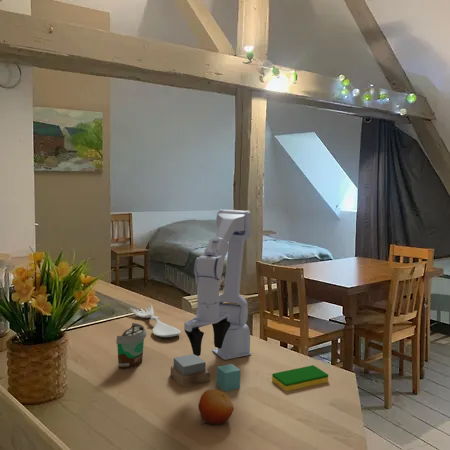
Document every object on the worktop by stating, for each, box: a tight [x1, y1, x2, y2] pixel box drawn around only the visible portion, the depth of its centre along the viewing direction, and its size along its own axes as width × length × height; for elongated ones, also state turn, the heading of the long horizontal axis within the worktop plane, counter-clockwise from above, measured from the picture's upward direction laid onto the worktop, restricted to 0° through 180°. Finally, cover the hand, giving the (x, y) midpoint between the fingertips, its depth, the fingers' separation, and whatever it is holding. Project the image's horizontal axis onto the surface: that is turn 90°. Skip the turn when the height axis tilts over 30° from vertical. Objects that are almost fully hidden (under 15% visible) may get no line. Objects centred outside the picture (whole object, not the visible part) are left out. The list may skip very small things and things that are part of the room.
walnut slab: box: [170, 365, 211, 388], centre depth 140 cm, size 8×8×3 cm
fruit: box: [198, 389, 235, 426], centre depth 118 cm, size 8×8×8 cm
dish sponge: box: [271, 364, 329, 392], centre depth 139 cm, size 7×14×2 cm, turn 116°
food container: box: [116, 322, 147, 370], centre depth 149 cm, size 12×6×10 cm, turn 168°
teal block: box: [216, 363, 241, 392], centre depth 135 cm, size 4×4×5 cm
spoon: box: [129, 304, 182, 338], centre depth 181 cm, size 9×32×4 cm, turn 28°
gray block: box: [173, 353, 207, 376], centre depth 140 cm, size 6×6×2 cm
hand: (207, 351), depth 136 cm, fingers open, 7 cm apart
